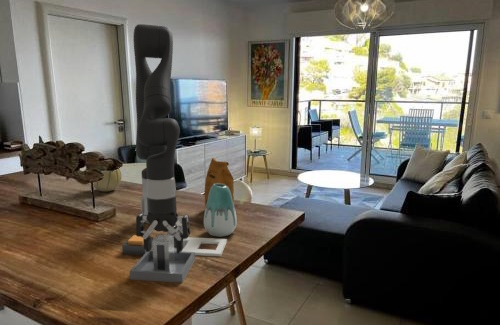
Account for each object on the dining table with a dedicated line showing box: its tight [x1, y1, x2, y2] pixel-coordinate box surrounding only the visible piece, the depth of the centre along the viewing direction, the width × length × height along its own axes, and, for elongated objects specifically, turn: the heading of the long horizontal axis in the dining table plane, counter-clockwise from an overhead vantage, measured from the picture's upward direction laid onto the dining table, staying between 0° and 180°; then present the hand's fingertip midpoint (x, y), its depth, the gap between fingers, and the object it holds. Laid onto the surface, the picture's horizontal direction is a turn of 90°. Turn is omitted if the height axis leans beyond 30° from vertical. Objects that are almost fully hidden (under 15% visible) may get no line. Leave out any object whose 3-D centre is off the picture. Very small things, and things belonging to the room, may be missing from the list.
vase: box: [203, 183, 238, 238], centre depth 129 cm, size 12×12×18 cm
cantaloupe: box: [93, 168, 123, 192], centre depth 181 cm, size 15×15×15 cm
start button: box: [127, 234, 144, 245], centre depth 113 cm, size 4×4×2 cm
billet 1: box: [152, 234, 175, 272], centre depth 101 cm, size 4×5×9 cm
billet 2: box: [167, 221, 187, 248], centre depth 116 cm, size 4×5×9 cm
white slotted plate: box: [174, 236, 228, 257], centre depth 116 cm, size 20×11×2 cm, turn 84°
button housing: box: [121, 235, 154, 256], centre depth 114 cm, size 7×7×4 cm
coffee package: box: [204, 157, 235, 209], centre depth 151 cm, size 10×12×22 cm
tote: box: [129, 249, 196, 283], centre depth 102 cm, size 14×13×4 cm
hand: (164, 251), depth 101 cm, fingers open, 8 cm apart
